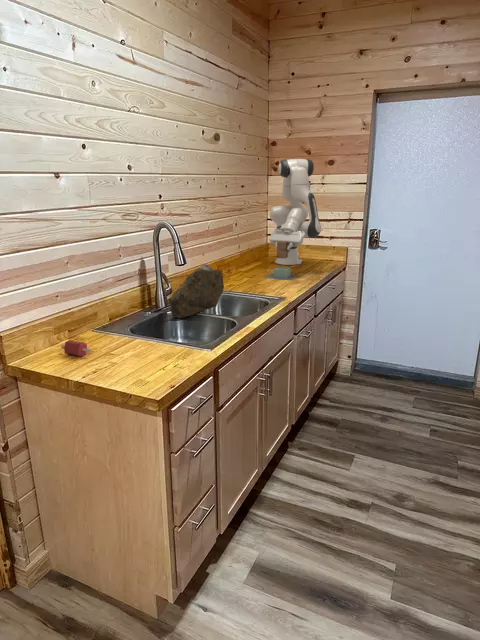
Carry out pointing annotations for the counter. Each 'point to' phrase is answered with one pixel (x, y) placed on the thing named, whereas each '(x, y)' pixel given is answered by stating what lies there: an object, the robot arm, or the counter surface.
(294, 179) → the robot arm
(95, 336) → the counter surface
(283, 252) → the walnut block
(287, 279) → the mat
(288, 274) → the sage brick
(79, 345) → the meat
